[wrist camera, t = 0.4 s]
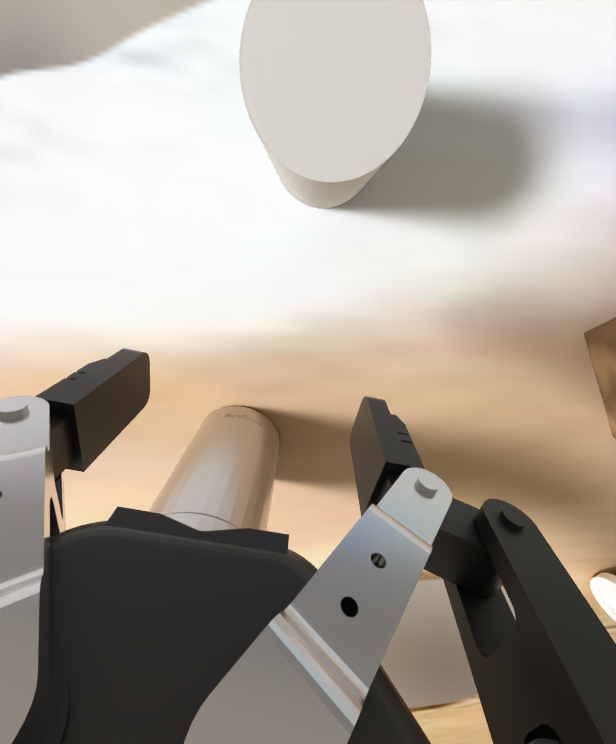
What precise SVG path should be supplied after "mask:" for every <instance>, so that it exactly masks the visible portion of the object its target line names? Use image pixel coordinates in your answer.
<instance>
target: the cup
mask: <svg viewBox="0 0 616 744" xmlns="http://www.w3.org/2000/svg"><path fill="white" fill-rule="evenodd" d="M430 66H431V38H430V29H429V22H428V18H427V13H426V10H425V6H424V3H423V0H251V3H250V6H249V8H248V11H247V14H246V18H245V21H244V26H243V30H242V37H241V44H240V79H241V87H242V92H243V97H244V101H245V105H246V108H247V111H248V114H249V117H250V119H251V122H252V124H253V126H254V128H255V130H256V132H257V134H258V136H259V138H260V140H261V142H262V144H263V146H264V148H265V150H266V152H267V154H268V156H269V158H270V160H271V162H272V164H273V166H274V168H275V170H276V172H277V174H278V176H279V178H280V180H281V182H282V183H283V185H284V187H285V188H286V189H287V191H288V192H289V193H290V194H291V195H292V196H293V197H294V198H296V199H297V200H298V201H300V202H301V203H303V204H305V205H308V206H311V207H315V208H332V207H336V206H339V205H341V204H343V203H345V202H347V201H349V200H350V199H351V198H353V197H354V196H355V195H356V194H357V193H358V192H359V191H360V190H361V189H362V188H363V187H364V185H365V184H366V183H367V182H368V181H369V180H370V179H371V178H372V177H373V176H374V174H375V173H376V172H377V171H378V170H379V169H380V168H381V167H382V166H383V164H384V163H385V162H386V161H387V160H388V159H389V158H390V157H391V156H392V155H393V153H394V152H395V151H396V150H397V149H398V148H399V147H400V145H401V144H402V143H403V141H404V140H405V138H406V137H407V135H408V134H409V132H410V131H411V129H412V127H413V125H414V123H415V121H416V119H417V117H418V115H419V112H420V110H421V107H422V104H423V101H424V98H425V94H426V91H427V86H428V81H429V75H430Z"/></svg>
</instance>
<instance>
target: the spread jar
mask: <svg viewBox="0 0 616 744" xmlns="http://www.w3.org/2000/svg"><path fill="white" fill-rule="evenodd" d="M590 588H591V591H592V593H593V595H594V597H595V598H596V600H597V602H598V603H599V604H600V606H601V607H602V608H603V609H604V610H605V611H606V613H607V614H608V615H609V616H610V617H611V618H612V619H614V620H615V621H616V576H615V575H612V574H609V573H600V574H598V575H597V576H595V577H593V578H592V579H591V581H590Z"/></svg>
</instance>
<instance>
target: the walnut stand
mask: <svg viewBox="0 0 616 744" xmlns="http://www.w3.org/2000/svg"><path fill="white" fill-rule="evenodd" d="M584 335H585V338H586V342H587V345H588V349H589V352H590V356H591V360H592V363H593V367H594V370H595V374H596V377H597V381H598V384H599V388H600V391H601V395H602V399H603V402H604V406H605V409H606V413H607V416H608V420H609V423H610V427H611V430H612V434H613V437H614V438H616V318H614V319H612V320H610V321H608V322H606V323H604V324H602V325H600V326H598V327H596V328H594V329H592V330H590V331H588V332H586V333H584Z"/></svg>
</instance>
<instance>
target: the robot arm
mask: <svg viewBox="0 0 616 744" xmlns="http://www.w3.org/2000/svg"><path fill="white" fill-rule="evenodd" d="M149 395H150V361H149V356H148V354H147V353H144V352H139V351H134V350H129V349H122V350H120V351H119V352H117V353H115V354H114V355H112V356H111V357H109V358H108V359H102V360H99V361H96V362H92V363H89V364H87V365H86V366H84V367H83V368H81V369H79V370H78V371H77V372H74V373H73V374H71V375H70V376H68V377H67V379H66V378H65V379H63V380H61V381H60V382H58V383H57V384H55V385H53V386H52V387H50V388H48V389H47V390H45V391H43V392H42V393H40V394H39V395H37V396H35V397H33V396H17V397H10V398H5V399H1V400H0V744H431V743H430V741H429V740H428V738H427V736H426V735H425V733H424V732H423V730H422V729H421V727H420V726H419V724H418V722H417V721H416V719H415V718H414V716H413V715H412V713H411V711H410V710H409V708H408V707H407V705H406V704H405V702H404V700H403V699H402V697H401V696H400V694H399V693H398V691H397V689H396V688H395V686H394V685H393V683H392V682H391V680H390V678H389V677H388V675H387V674H386V672H385V671H384V669H383V667H382V666H381V661H382V659H383V657H384V655H385V652H386V650H387V648H388V646H389V644H390V641H391V639H392V637H393V635H394V633H395V630H396V628H397V626H398V624H399V621H400V619H401V617H402V615H403V613H404V611H405V608H406V606H407V604H408V602H409V599H410V597H411V595H412V593H413V590H414V588H415V586H416V584H417V582H418V580H419V577H420V575H421V573H422V571H423V569H425V570H427V571H429V572H431V573H433V574H435V575H437V576H439V577H441V578H443V580H444V583H445V586H446V589H447V593H448V596H449V600H450V603H451V606H452V609H453V613H454V616H455V619H456V623H457V626H458V629H459V632H460V636H461V639H462V642H463V646H464V649H465V652H466V655H467V659H468V662H469V665H470V668H471V672H472V675H473V678H474V682H475V685H476V688H477V691H478V695H479V698H480V701H481V705H482V708H483V711H484V714H485V718H486V721H487V724H488V727H489V731H490V734H491V737H492V741H493V744H616V644H615V642H614V641H613V639H612V638H611V636H610V635H609V633H608V632H607V630H606V629H605V627H604V626H603V624H602V623H601V621H600V620H599V618H598V617H597V615H596V614H595V612H594V611H593V609H592V608H591V606H590V605H589V603H588V602H587V600H586V599H585V597H584V596H583V595H582V593H581V592H580V590H579V589H578V587H577V586H576V584H575V583H574V581H573V580H572V578H571V577H570V575H569V574H568V572H567V571H566V569H565V568H564V566H563V565H562V563H561V562H560V560H559V559H558V557H557V556H556V554H555V553H554V551H553V550H552V548H551V547H550V545H549V544H548V543H547V541H546V540H545V538H544V537H543V535H542V534H541V532H540V531H539V529H538V528H537V526H536V525H535V524H534V522H533V521H532V520H531V519H530V518H529V517H528V516H527V515H526V514H524V513H523V512H522V511H521V510H519V509H518V508H516V507H515V506H513V505H511V504H509V503H507V502H504V501H502V500H498V499H488V500H486V501H485V502H484V503H483V505H482V506H481V508H480V509H478V508H475V507H473V506H471V505H468V504H466V503H464V502H461V501H459V500H456V499H454V498H452V493H451V491H450V489H449V487H448V486H447V485H446V483H445V482H444V481H443V480H442V479H440V478H439V477H438V476H436V475H435V474H433V473H431V472H429V471H427V470H425V469H424V467H423V464H422V462H421V460H420V457H419V455H418V453H417V451H416V448H415V446H414V444H412V443H413V442H412V439H411V437H410V436H409V433H408V430H407V428H406V426H405V424H404V423H403V422H402V421H401V420H400V419H399V418H398V417H397V416H396V415H391V414H390V412H389V409H388V407H387V404H386V402H385V400H381V399H376V398H371V397H366V396H365V397H364V398H363V400H362V402H361V405H360V408H359V411H358V414H357V417H356V420H355V423H354V426H353V429H352V433H351V439H350V446H351V452H352V459H353V465H354V472H355V478H356V485H357V491H358V497H359V504H360V510H361V518H360V519H359V520H358V522H357V523H356V524H355V525H354V526H353V528H352V529H351V530H350V531H349V533H348V534H347V535H346V536H345V537H344V539H343V540H342V541H341V542H340V544H339V545H338V546H337V547H336V549H335V550H334V551H333V552H332V553H331V555H330V556H329V557H328V558H327V560H326V561H325V562H324V563H323V564H322V566H321V567H320V568H319V569H318V570H317V569H316V568H315V567H314V566H313V565H312V564H311V563H310V562H309V561H307V560H306V559H305V558H304V557H302V556H300V555H299V554H297V553H295V552H293V551H291V550H289V549H288V540H289V535H288V534H281V533H275V532H269V531H266V529H267V523H268V517H269V510H270V504H271V498H272V491H273V485H274V479H275V473H276V467H277V461H278V455H279V447H280V439H279V434H278V432H277V429H276V427H275V426H274V425H273V423H272V422H271V421H270V420H269V419H268V418H267V417H266V416H264V415H263V414H261V413H260V412H258V411H256V410H253V409H250V408H246V407H241V406H230V407H225V408H221V409H219V410H216V411H214V412H213V413H212V414H210V415H209V416H208V417H207V418H206V419H205V420H204V421H203V423H202V425H201V426H200V428H199V430H198V431H197V433H196V435H195V436H194V438H193V440H192V441H191V443H190V444H189V446H188V447H187V449H186V451H185V452H184V454H183V456H182V457H181V459H180V461H179V462H178V464H177V466H176V467H175V469H174V470H173V472H172V474H171V475H170V477H169V479H168V480H167V482H166V484H165V485H164V487H163V489H162V490H161V492H160V493H159V495H158V497H157V498H156V500H155V502H154V503H153V505H152V507H151V508H150V510H149V511H148V512H147V511H141V510H135V509H129V508H123V507H117V508H116V510H115V511H114V513H113V514H112V516H111V517H110V518H109V520H108V521H102V522H96V523H90V524H86V525H82V526H78V527H75V528H72V529H69V530H66V523H65V501H64V481H63V476H62V472H63V471H64V470H65V469H71V470H76V471H82V472H84V471H85V470H86V469H87V468H88V467H89V466H90V465H91V463H92V462H93V461H94V460H95V459H96V458H97V457H98V456H99V455H100V454H101V453H102V452H103V451H104V450H105V449H106V448H107V446H108V445H109V444H110V443H111V442H112V441H113V440H114V439H115V438H116V437H117V436H118V435H119V434H120V433H121V432H122V430H123V429H124V428H125V427H126V426H127V425H128V424H129V423H130V422H131V421H132V420H133V419H134V418H135V417H136V416H137V414H138V413H139V412H140V411H141V410H142V409H143V408H144V407H145V405H146V404H147V402H148V399H149ZM502 585H503V586H504V588H505V590H506V592H507V594H508V597H509V598H510V601H511V603H512V605H513V607H514V611H515V615H516V621H515V618H514V616H513V614H512V612H511V610H510V608H509V605H508V603H507V601H506V599H505V596H504V594H503V592H502V590H501V588H500V587H501V586H502Z"/></svg>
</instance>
